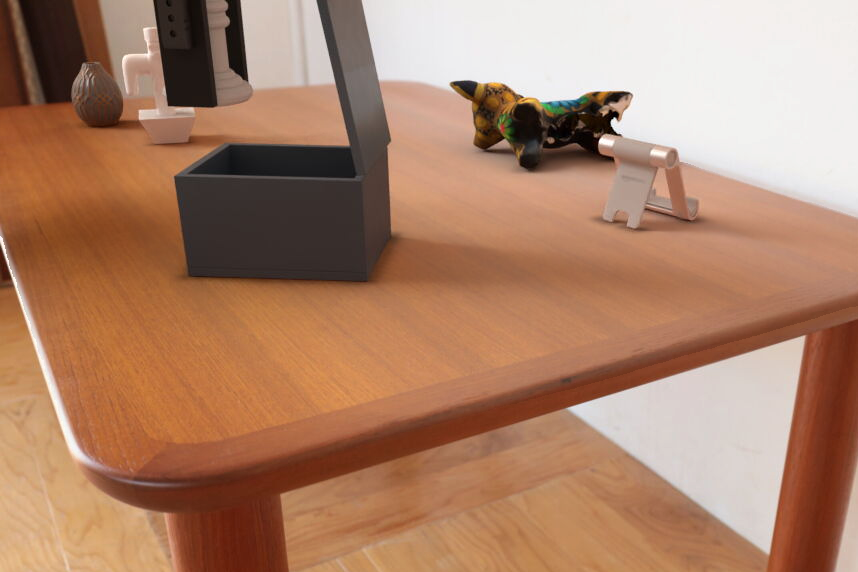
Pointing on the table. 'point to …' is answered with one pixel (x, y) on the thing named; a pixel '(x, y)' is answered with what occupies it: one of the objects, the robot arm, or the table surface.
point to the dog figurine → (540, 119)
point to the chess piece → (223, 59)
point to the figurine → (156, 95)
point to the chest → (283, 212)
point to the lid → (355, 80)
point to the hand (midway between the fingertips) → (210, 96)
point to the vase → (96, 96)
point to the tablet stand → (644, 180)
